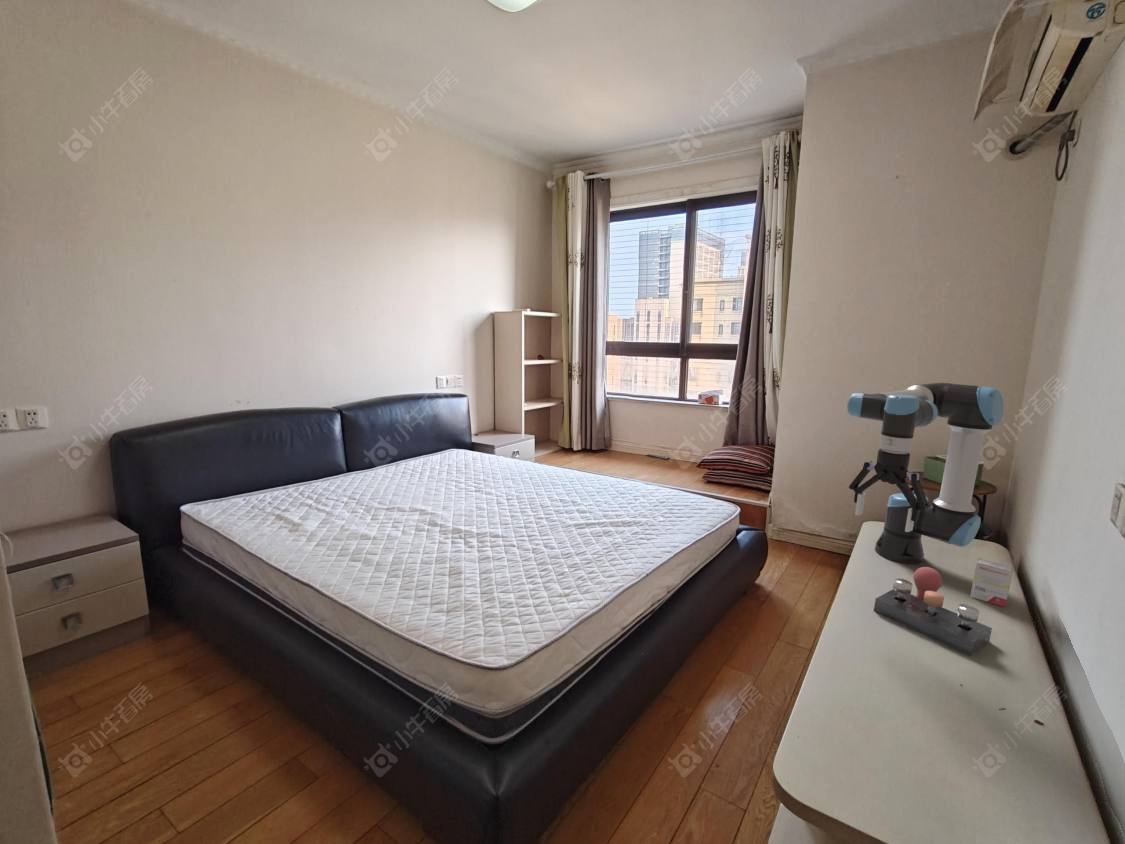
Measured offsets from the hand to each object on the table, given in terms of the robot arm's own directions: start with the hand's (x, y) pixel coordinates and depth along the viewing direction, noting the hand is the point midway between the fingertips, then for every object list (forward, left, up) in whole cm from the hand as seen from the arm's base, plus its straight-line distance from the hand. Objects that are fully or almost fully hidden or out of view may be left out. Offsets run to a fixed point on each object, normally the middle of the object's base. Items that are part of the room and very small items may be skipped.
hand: (882, 522), depth 145 cm
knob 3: (-7, +21, -24) cm, 33 cm away
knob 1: (-7, +5, -24) cm, 26 cm away
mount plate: (-7, +13, -28) cm, 31 cm away
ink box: (-40, +16, -28) cm, 51 cm away
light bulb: (-18, +7, -28) cm, 34 cm away
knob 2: (-7, +13, -24) cm, 28 cm away
